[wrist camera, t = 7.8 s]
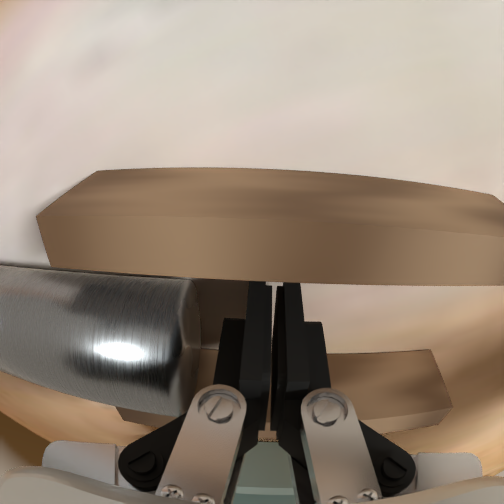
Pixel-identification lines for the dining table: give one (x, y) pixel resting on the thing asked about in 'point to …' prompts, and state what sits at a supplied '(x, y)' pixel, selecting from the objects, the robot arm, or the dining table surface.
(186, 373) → the grey cylinder
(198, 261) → the wooden blocks
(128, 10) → the dining table surface
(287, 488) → the cradle
